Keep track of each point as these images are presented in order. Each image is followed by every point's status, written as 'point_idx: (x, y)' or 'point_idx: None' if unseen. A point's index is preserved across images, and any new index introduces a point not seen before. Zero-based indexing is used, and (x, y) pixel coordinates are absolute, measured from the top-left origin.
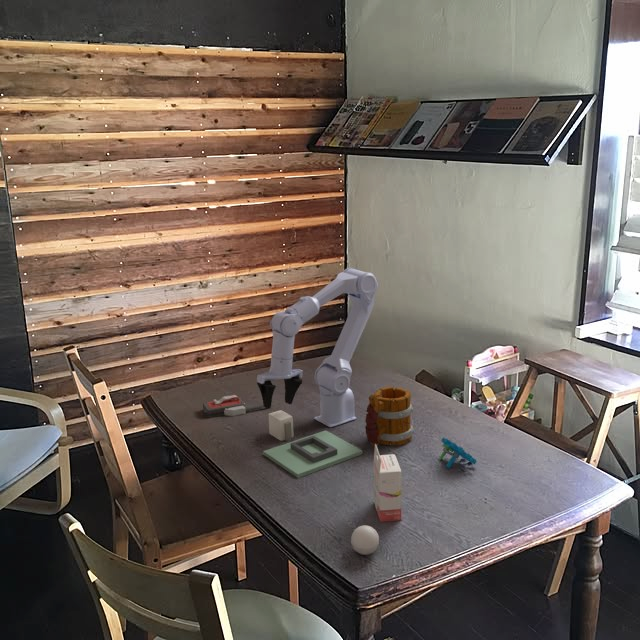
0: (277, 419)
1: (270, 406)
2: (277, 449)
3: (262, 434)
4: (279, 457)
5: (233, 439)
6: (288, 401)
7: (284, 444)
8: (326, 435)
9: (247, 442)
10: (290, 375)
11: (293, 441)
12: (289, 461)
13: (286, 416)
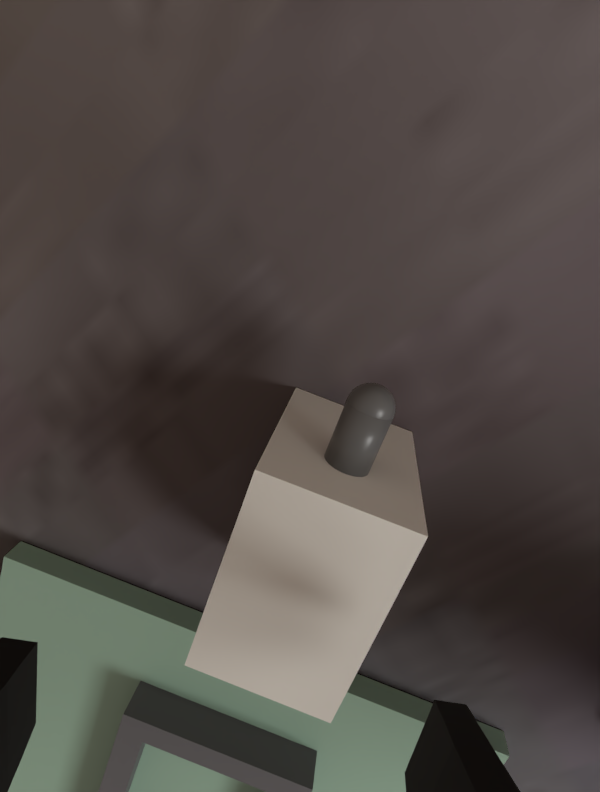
0: (201, 620)
1: (12, 760)
2: (81, 618)
3: (253, 343)
4: None
5: (38, 182)
6: (420, 785)
7: (162, 622)
8: None
9: (75, 329)
10: None
11: None
12: None
13: (300, 673)
